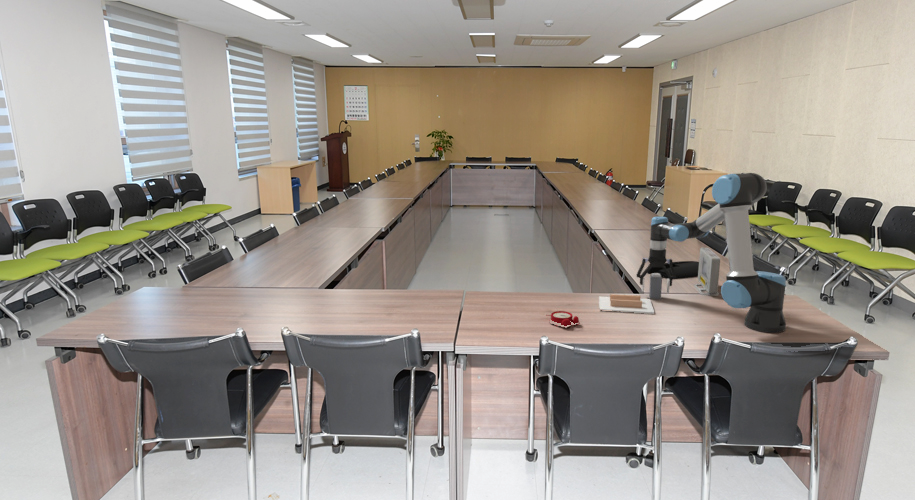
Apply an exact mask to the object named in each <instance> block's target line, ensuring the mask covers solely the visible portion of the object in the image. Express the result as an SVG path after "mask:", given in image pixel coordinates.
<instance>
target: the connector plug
mask: <svg viewBox="0 0 915 500" xmlns="http://www.w3.org/2000/svg"><path fill="white" fill-rule="evenodd" d="M662 286H663V278H662V276H661V275H660V274H658V273H652V274H649V292H648V297H649V299H650V300H662V288H663V287H662Z"/></svg>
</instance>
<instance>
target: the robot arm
mask: <svg viewBox="0 0 915 500" xmlns="http://www.w3.org/2000/svg"><path fill="white" fill-rule="evenodd" d="M767 187H768V185H767V182H766V180H765V178H764V177H763V176H762V175H760V174H758V173H755V172H747V173H741V172H740V173H728V174H723V175H721V176H719V177H718V178H716V179H715V182H714V183H713V184H712V187H711V195H712V199H713V200H714V201H715V203H717V204H715V206H713V207H711V208H710V209H709V210H707V211H706V212H705V213H703V214H702V215H700V216H698V217H697V218H696V219H695V220H693V221H691V222H685V223H684V222H683V223H671V222H669V218H668V217H666V216H653V217H652V218H651V223H650V237H649V238H650V240H649V254H648V255H649V256H648V258H645V257H642V259H641V265H640V266H639V268H638V271H637V272H636V278H639V285H641V292H642V293H644V292H645V276H646V275H647V274H649V273H648V271H649V270H650V269H651V268H652V267H659V268H660V267H662V268H663V269H664V271H665V272H666V274H667V276H668V277H669V279H668V278H667V279H666V280H667V281H666V282H667V284H666V293H667V294H670V287H672V285H673V280H677V279H676V274H675V271H674V268H673V265H672V262H673V259H672V258H668V259H667V245H668V244H667V242H668V240H670V241H674V242H681V243H682V242H684V241H686V240H688V239H701V238H705V237H706V236H708V235H709V233H710V230H712V229H713V228H715V227H716V226H718V225H720V224H721V223H722V222H724V221H725V223H724V224H725V232H726V244H727V255H728V265H729V271H728V272H727V274H725V278H726V280H725V281H724V282H723V283H722V285H721V289H720V293H721V297H722V299H723V300H724V302H725V303H726V304H727V305H728V306H730V307H731V308H733V309H748V308H749V309H748V311H747V314H746V315H745V317H744V321H743V322H744V326H746V327H747V328H748V329H751V330H753V331H757V332H761V333H762V332H763V333H769V334H771V333H773V334H774V333H782V332H784V331H786V329H787V328H786V327H787V323H786V320H785V315H784V312H783V310H784V302H785V301H784V300H785V294H786V293H785V292H786V287H787V285H786V283H787V282H786V281H787V280H786V277H785V276H784V275H783V274H780V273H774V272H769V271H762V270H761V271H760V270H755V269H754V261H753V259H754V258H753V250H752V249H753V248H752V239H751V227H750V225H751V224H750V216H749V210H750V209H751V208H752V206H753V205H754V204H756V203H757V202H759V201H760V200H761V199H762V198H763V197H764V196H765V195H766V193H767V189H768V188H767ZM647 262H648V263H649V264H648V265H647V266H646V268H645V265H646V264H647ZM665 263H668V264H669V265H670V269H671V272H672V275H673V276H671V275H670V274H669V272H668V271H667V269H666V268H665V266H664V264H665ZM644 268H645V269H644ZM643 269H644V270H643ZM642 271H643V272H642Z"/></svg>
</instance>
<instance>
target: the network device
mask: <svg viewBox="0 0 915 500" xmlns="http://www.w3.org/2000/svg"><path fill="white" fill-rule="evenodd" d="M698 259H699V260H698V262H699V270H698V277H697V281H698V282H699V283H695V284H694V285H693V287H694V288H695V289H696V290H697V292H698V293H699V294H700V295H702V296H709V297H710V296H713V297H714V296H715V297H716V296H719V295H720V293H719V292H718V291H719V290H718V289H719V279H720V268H721V257H720V256H718V254H716V253H715V252H714V251H712V249H710V248H709V247H700V249H699V258H698ZM704 291H705V293H704ZM706 292H707V293H706Z"/></svg>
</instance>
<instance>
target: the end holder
mask: <svg viewBox="0 0 915 500" xmlns="http://www.w3.org/2000/svg"><path fill="white" fill-rule="evenodd" d="M599 308H600V309H602V310H612V311H622V312H621V313H623V312H634V313H633V314H641V313H644V315H645V314H646V315H655V309H654V307H653V304H652V301H651V299H650V298H641V295H636V294H635V295H632V294H614V293H613V294H612V293H610V294H609V296H600V295H599V296H598V309H599Z"/></svg>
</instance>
